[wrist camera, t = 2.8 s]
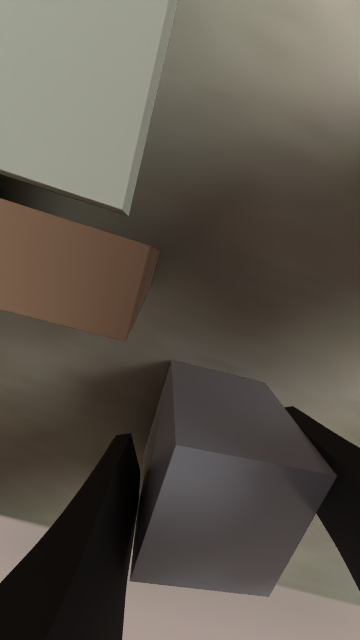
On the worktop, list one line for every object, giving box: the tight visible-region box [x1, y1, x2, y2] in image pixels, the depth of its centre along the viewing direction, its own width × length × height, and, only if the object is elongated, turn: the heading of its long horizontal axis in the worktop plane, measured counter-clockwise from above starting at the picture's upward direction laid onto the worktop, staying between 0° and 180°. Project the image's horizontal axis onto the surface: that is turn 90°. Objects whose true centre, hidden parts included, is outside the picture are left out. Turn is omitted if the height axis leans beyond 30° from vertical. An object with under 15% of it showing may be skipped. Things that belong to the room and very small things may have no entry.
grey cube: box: [130, 360, 337, 597], centre depth 9 cm, size 4×5×5 cm
